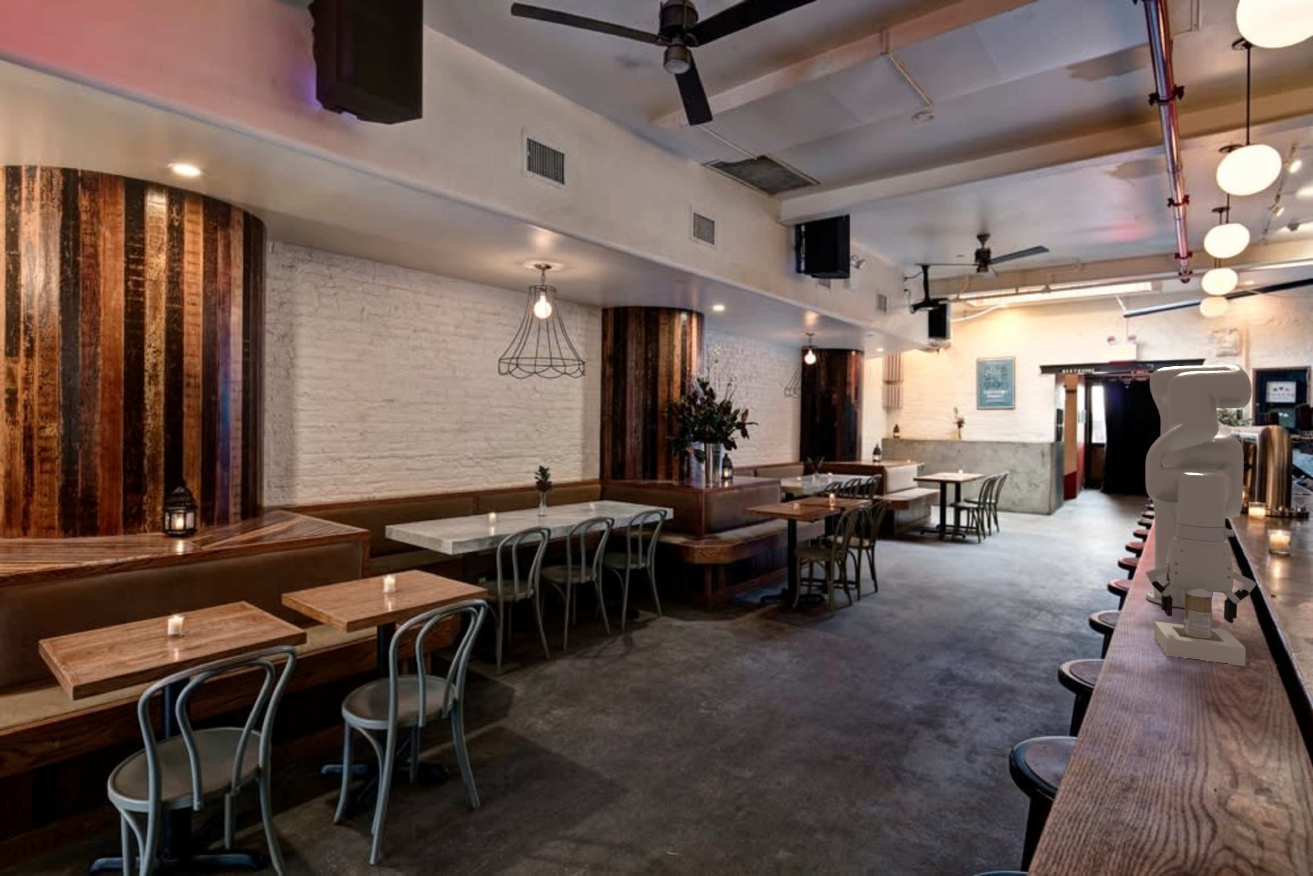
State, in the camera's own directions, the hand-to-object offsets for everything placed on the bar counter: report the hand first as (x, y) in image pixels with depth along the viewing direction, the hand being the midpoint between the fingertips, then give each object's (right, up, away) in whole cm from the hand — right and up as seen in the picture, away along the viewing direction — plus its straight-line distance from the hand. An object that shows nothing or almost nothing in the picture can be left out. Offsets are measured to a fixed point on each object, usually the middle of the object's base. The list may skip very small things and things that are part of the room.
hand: (1197, 617), depth 134 cm
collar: (0, -7, 0) cm, 7 cm away
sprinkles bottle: (0, -7, 0) cm, 7 cm away
